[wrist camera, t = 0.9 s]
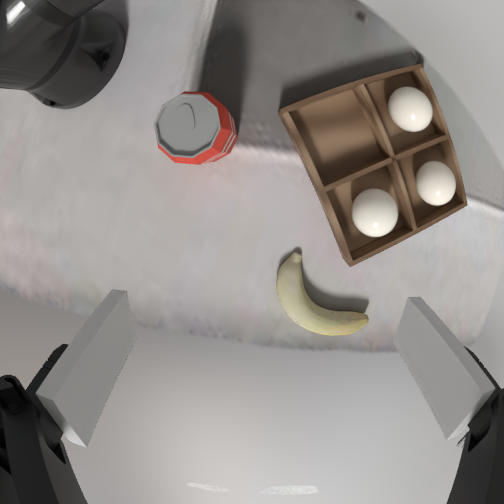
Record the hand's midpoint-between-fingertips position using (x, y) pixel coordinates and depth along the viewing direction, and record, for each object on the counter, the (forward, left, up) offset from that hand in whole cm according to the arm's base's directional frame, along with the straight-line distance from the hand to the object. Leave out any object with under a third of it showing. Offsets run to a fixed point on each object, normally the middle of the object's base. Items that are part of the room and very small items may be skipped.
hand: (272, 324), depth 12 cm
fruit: (+14, +3, -23) cm, 27 cm away
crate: (0, +17, -23) cm, 28 cm away
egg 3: (+5, +22, -22) cm, 31 cm away
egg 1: (+5, +12, -22) cm, 26 cm away
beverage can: (-11, -1, -23) cm, 25 cm away
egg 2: (-5, +22, -22) cm, 31 cm away
